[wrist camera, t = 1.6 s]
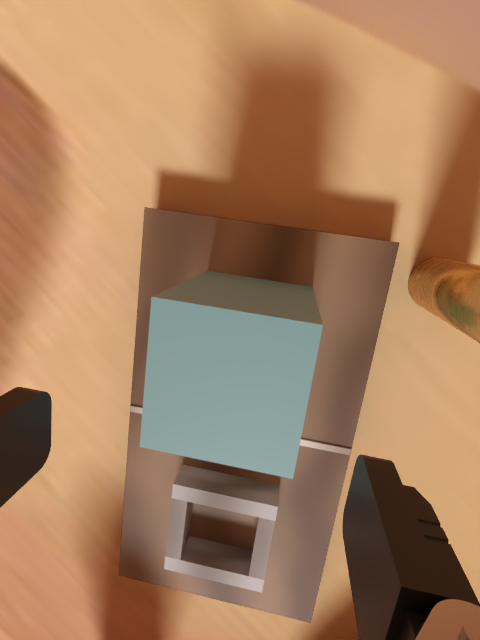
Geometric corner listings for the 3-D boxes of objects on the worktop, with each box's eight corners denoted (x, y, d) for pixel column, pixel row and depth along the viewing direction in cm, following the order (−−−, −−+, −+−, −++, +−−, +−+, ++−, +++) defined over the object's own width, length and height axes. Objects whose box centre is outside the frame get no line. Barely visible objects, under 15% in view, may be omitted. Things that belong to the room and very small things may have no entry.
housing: (312, 287, 21) (322, 325, 13) (294, 386, 23) (292, 479, 14) (207, 270, 22) (151, 296, 14) (196, 368, 23) (139, 446, 15)
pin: (469, 261, 22) (584, 283, 13) (455, 312, 22) (554, 365, 14) (415, 254, 22) (491, 270, 13) (402, 304, 23) (467, 350, 14)
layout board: (390, 241, 22) (440, 248, 14) (309, 596, 28) (314, 732, 21) (157, 209, 24) (89, 199, 16) (130, 553, 30) (72, 665, 22)
